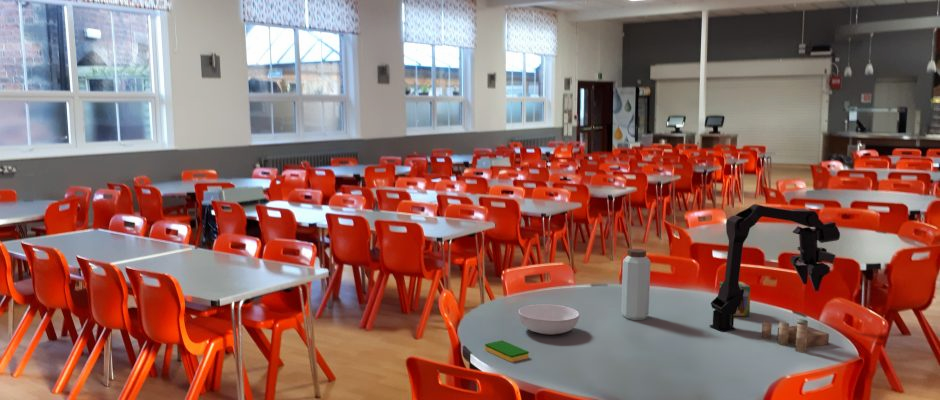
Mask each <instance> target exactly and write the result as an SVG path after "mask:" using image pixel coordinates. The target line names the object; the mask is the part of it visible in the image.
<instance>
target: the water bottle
mask: <svg viewBox="0 0 940 400" xmlns="http://www.w3.org/2000/svg"><path fill="white" fill-rule="evenodd" d="M621 275H622V276H621V304H620V305H621V307H620V308H621V309H620V314H621V315H622V318H625V319H627V320H632V321H640V320H645V319H646V318H647V317H648V315H649V312H650V284H651V283H650V282H651V281H650V280H651V260H650V259H649V257H648V256H647V250H646V249H645V250H644V249H641V248H640V249H639V248H631V249H628V250H627V256H625V258H624V259H623V260H622V273H621Z"/></svg>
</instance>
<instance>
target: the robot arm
mask: <svg viewBox="0 0 940 400" xmlns="http://www.w3.org/2000/svg"><path fill="white" fill-rule="evenodd" d="M761 218H769V219H777V220H783V221H789V222H791V223H792V222H793V223H795V224H798V225H801V226H805V227H801V226H796V228H794V230H792V233H793V234H796V235H798V239H799V246H798V247H797V250H798V251H799V254H793V255H792V256H791V257H789V258H790V264H791V265H792V267H793V268H794V270H795V271H796V273H797V275H798V276H799V278H800V281H801V282H802V284H803V285H807V284H808V278H809V279H810V282H811V285H812V287H813V289H814V291H815V292H819V291H820V287H821V284H822V280H823V278H824V277H825V276H827V275H828V274H830V273H831V267H830V266H829V265H828V264H827V263H830V264H834V262H835V258H836V254H834V253H832V252H829V251H827V248H825V247H822V246H821V247H819V246H818V242H819V243H821V244H823V243H830V242H837V241H839V240H840V238H841V232H840V230H839V228H838V226H837V223H836V222H835V221H828V222H825V223H823V222H822V220H821V219H820V218H819V214H818V212H817V211H815V210H814V211H813V210H812V209H808V208H793V209H786V208H781V207H780V208H779V207H773V206H765V205H763V204H762V205H761V204H757V203H753V204H752V205H751V206H748V208H745V209H743V210H741V211H739V212H738V213H736V214H735V215H731V216H729V217H728V218H727V220H726V221H725V229H726V236H727V239H728V245H727V246H728V247H727V256H726V264H725V274H724V281H722V282H723V284H722V285H721V287H720V290H719V289H718V293H717V296H716V297H715V298H714V299H713V300H712V301H711V302H710V306H711V308H712V309H713V310H712V311H713V312H712V324H710V325H709V327H710V328H712V329H715V330H717V331H720V332H726V331H733V330H734V331H735V330H736V329H737V328H736V327H734V325H735V324H734V321H735V316H734V315H733V314H735V313H736V311H737V308H738V307H739V306H740V305H741V301H743V294H744V289H742V288H740V287H739V282H740V273H741V264H742V257H743V248H744V243H745V241H746V240H747V238H749V237H748V236H749V234H750V230H751V228H752V227H754V226H755V225H756V224H757V223H758V221H759V220H760V219H761ZM824 262H826V263H824Z"/></svg>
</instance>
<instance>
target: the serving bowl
mask: <svg viewBox="0 0 940 400" xmlns="http://www.w3.org/2000/svg"><path fill="white" fill-rule="evenodd" d="M518 318H519V320H520V323H521V324H522V325H523V326H524V327H525V329H528V330H529V331H531V332H534V333H538V334H542V335H545V336H546V335H548V336H549V335H558V334H563V333H567V332H569V331H572V329H574V328H575V327H576V326H577V324H578V322H579V319H580V312H579V311H577V310H576V309H574V308H571V307H568V306H566V305H565V306H563V305H559V304H548V303H545V304H544V303H543V304H542V303H540V304H531V305H526V306H523V307H521V308H519V309H518Z"/></svg>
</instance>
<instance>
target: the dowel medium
mask: <svg viewBox="0 0 940 400" xmlns="http://www.w3.org/2000/svg"><path fill="white" fill-rule="evenodd" d="M789 326H790V323H789V322H785V321H780V322H779V324H778V328H779V336H778V335H777V340H778V341H777V343H778V345H780V346H788V344H789V342H788V335H789Z"/></svg>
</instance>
